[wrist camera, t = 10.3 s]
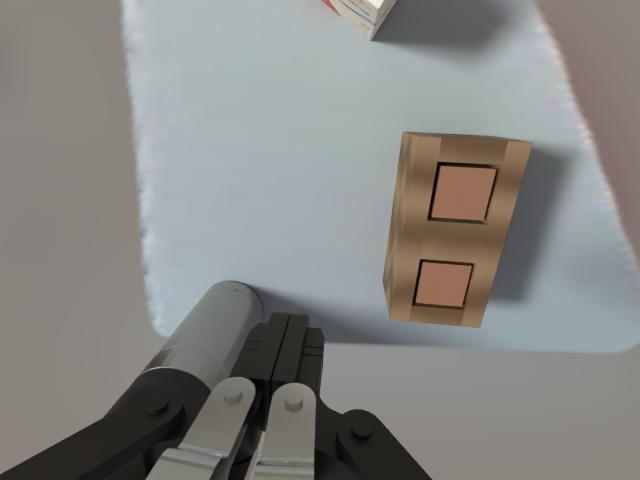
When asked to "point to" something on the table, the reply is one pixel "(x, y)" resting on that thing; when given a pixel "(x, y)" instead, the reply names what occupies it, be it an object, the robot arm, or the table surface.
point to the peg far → (441, 282)
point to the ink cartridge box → (362, 13)
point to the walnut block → (449, 223)
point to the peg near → (461, 190)
